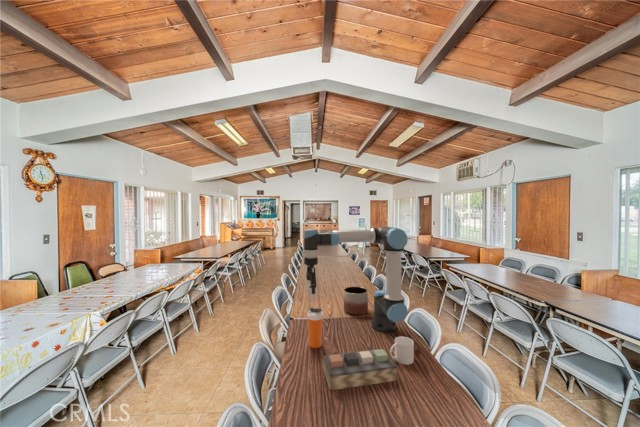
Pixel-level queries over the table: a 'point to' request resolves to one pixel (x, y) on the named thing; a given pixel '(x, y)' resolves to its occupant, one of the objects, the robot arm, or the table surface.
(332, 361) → the key terracotta
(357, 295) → the planter
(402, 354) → the mug
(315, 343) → the shaker bottle
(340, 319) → the table surface
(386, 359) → the key sage
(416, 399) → the table surface
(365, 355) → the key ivory
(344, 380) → the console
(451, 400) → the table surface
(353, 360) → the key dark gray
